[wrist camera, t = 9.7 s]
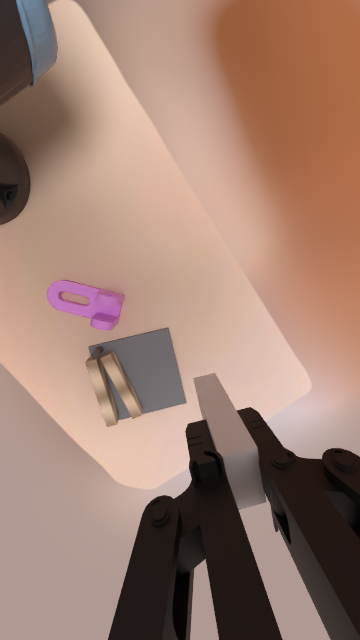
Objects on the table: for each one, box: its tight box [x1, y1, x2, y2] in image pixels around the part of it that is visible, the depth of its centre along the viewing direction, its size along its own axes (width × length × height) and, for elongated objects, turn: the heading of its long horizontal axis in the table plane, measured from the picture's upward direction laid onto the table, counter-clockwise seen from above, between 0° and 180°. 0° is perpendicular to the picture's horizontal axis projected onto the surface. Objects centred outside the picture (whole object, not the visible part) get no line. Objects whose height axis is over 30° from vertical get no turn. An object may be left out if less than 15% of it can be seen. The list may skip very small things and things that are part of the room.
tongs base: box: [85, 346, 119, 427], centre depth 43 cm, size 16×3×3 cm, turn 13°
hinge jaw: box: [100, 350, 143, 419], centre depth 43 cm, size 14×2×2 cm, turn 23°
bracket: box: [47, 280, 124, 330], centre depth 38 cm, size 13×6×7 cm, turn 75°
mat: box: [89, 328, 186, 420], centre depth 45 cm, size 17×16×1 cm
